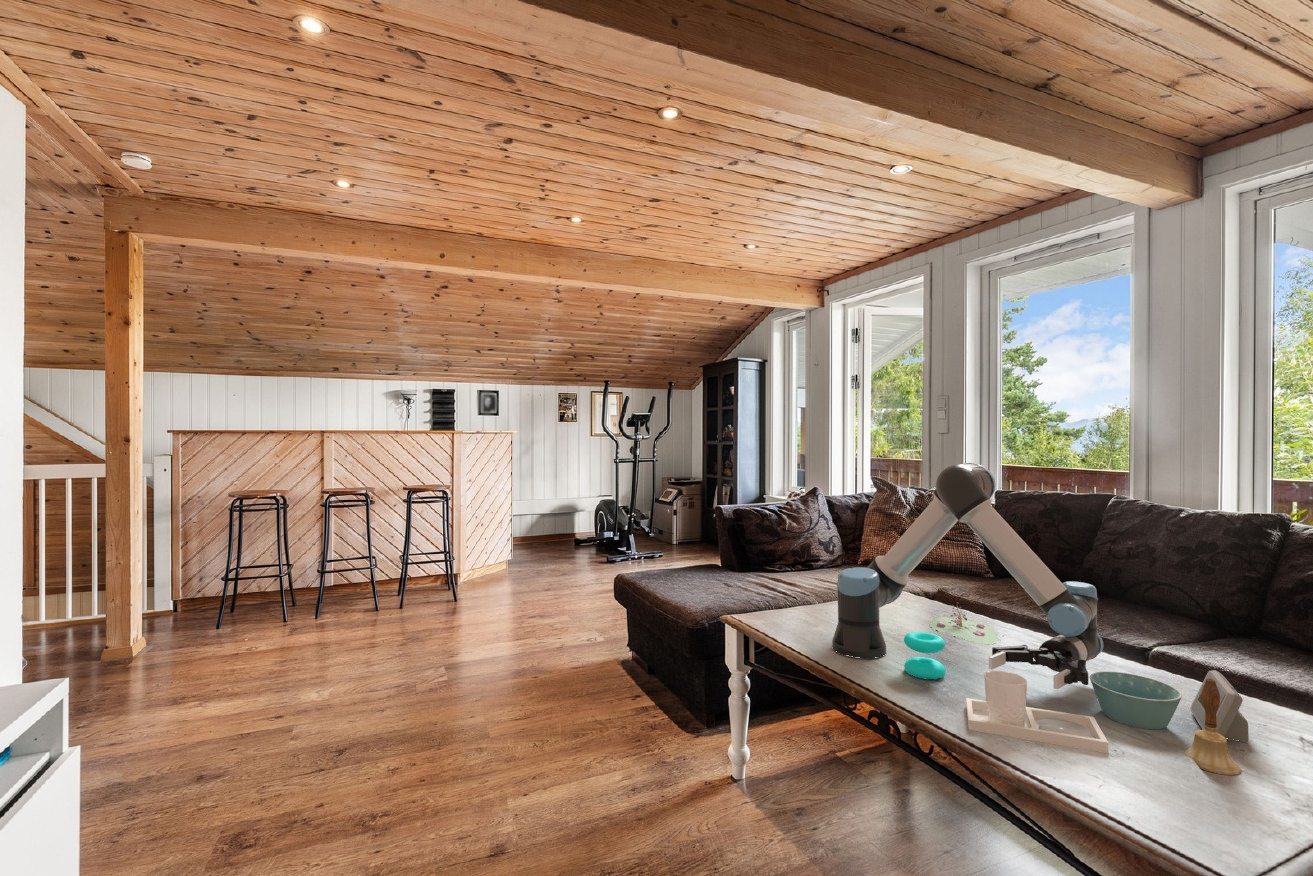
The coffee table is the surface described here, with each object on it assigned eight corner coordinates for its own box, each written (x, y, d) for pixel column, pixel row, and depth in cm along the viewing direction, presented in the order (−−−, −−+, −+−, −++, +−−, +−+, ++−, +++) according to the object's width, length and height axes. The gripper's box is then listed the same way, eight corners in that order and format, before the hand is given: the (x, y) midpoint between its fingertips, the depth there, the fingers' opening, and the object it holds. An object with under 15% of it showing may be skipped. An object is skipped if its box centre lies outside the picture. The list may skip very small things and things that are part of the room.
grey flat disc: (1049, 741, 121) (1049, 736, 121) (1030, 721, 130) (1030, 717, 130) (1100, 745, 119) (1099, 740, 119) (1077, 725, 128) (1077, 720, 128)
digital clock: (1190, 711, 136) (1189, 664, 137) (1246, 723, 130) (1245, 674, 130) (1188, 737, 125) (1187, 685, 125) (1249, 752, 118) (1248, 697, 119)
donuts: (941, 644, 153) (899, 637, 159) (941, 684, 153) (900, 676, 159) (948, 634, 161) (908, 628, 167) (948, 672, 161) (909, 664, 167)
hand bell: (1247, 766, 113) (1245, 681, 113) (1233, 780, 109) (1231, 691, 109) (1190, 748, 120) (1188, 667, 120) (1174, 760, 116) (1173, 676, 116)
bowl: (1167, 714, 135) (1167, 677, 135) (1195, 746, 121) (1194, 705, 121) (1083, 702, 142) (1082, 667, 142) (1099, 731, 128) (1099, 692, 128)
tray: (968, 734, 127) (968, 719, 127) (966, 711, 138) (966, 698, 138) (1108, 758, 117) (1108, 742, 117) (1093, 731, 127) (1093, 717, 127)
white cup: (1016, 717, 132) (1015, 671, 132) (1035, 734, 124) (1034, 685, 124) (978, 716, 133) (977, 670, 133) (995, 733, 125) (994, 684, 125)
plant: (1026, 642, 186) (1026, 613, 186) (969, 648, 181) (969, 618, 181) (967, 620, 210) (967, 594, 210) (915, 624, 205) (915, 597, 205)
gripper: (1124, 685, 137) (1086, 709, 125) (1008, 653, 158) (966, 671, 145) (1124, 652, 137) (1085, 673, 125) (1008, 625, 158) (966, 640, 145)
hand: (1021, 672), depth 135 cm, fingers open, 13 cm apart
